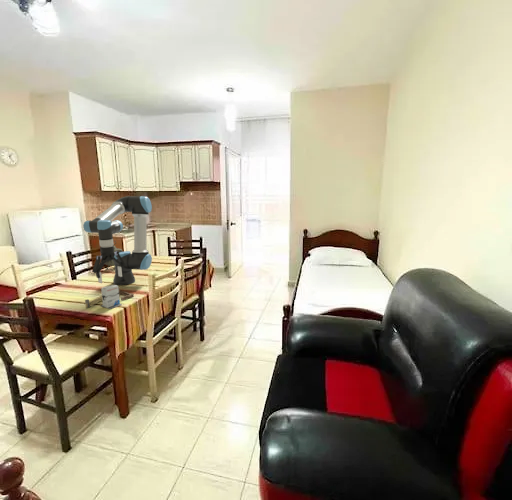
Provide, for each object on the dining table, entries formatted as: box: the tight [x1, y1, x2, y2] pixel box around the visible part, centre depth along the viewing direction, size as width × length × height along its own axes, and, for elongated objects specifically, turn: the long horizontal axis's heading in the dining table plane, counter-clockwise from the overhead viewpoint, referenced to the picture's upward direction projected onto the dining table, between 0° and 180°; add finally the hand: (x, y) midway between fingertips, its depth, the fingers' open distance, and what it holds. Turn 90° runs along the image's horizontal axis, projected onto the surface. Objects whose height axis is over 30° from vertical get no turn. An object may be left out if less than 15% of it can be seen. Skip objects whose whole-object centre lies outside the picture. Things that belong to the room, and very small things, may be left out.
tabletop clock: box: [104, 240, 123, 270], centre depth 264 cm, size 14×9×25 cm, turn 145°
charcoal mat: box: [100, 303, 123, 310], centre depth 186 cm, size 8×9×1 cm
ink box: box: [100, 284, 121, 309], centre depth 184 cm, size 8×5×12 cm, turn 147°
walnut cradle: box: [118, 286, 135, 302], centre depth 198 cm, size 13×14×5 cm
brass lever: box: [84, 295, 102, 309], centre depth 189 cm, size 3×19×4 cm, turn 166°
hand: (110, 279), depth 187 cm, fingers open, 13 cm apart
